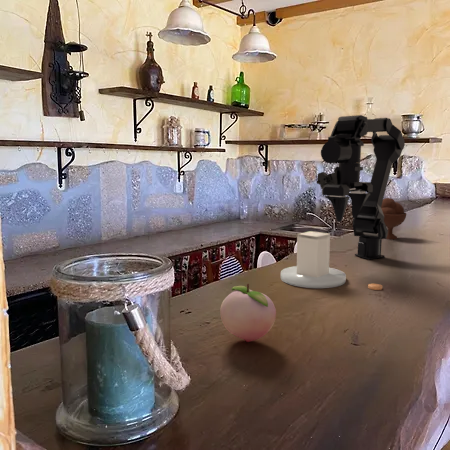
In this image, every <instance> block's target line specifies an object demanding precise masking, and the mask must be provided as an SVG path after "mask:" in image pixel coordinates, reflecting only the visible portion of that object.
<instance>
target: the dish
mask: <svg viewBox="0 0 450 450" xmlns="http://www.w3.org/2000/svg"><path fill="white" fill-rule="evenodd" d="M346 279H347V274H346V272H344V271H342V270H341V269H336V268H334V267H330V266H329V273H328V274H325V275H322V276H320V277H317V278H316V277H311V276H306V275H301V274H297V265H293V266H289V267H284V268H283V269H282V270H281V271H280V280H281V281H282V282H283V283H285V284H287V285H290V286H293V287H294V286H295V287H299V288H307V289H329V288H331V289H332V288H337V287H340V286H343V285H345V283H346V282H347V281H346Z"/></svg>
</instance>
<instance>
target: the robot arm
mask: <svg viewBox="0 0 450 450" xmlns="http://www.w3.org/2000/svg"><path fill="white" fill-rule="evenodd" d="M331 131H332V132H331V133H330V135H329V136H328V137H327V142H325V143H324V144H323V145H322V146H321V149H320V156H321V159H322V160H323V161H324V162H325V163H327V164H338V166H335V168H334V171H333V172H331V173H327V172H325V171H323V172H318V173H317V177H316V185H320V186H319V187H320V189H321V195H322V196H324V198H325V199H327V200H328V201H329V202H330V203H331V205H332V208H333V212H334V215H335V219H336V222H338V223H339V222H340V223H341V222H342V221H343V218H344V216H345V212H346V208H347V206H348V203H349V199H350V201H351V215H352V218H353V219H352V229H353V236H354V237H358V242H357V253H354V256H355V257H359V258H363V259H366V260H376V259H382V258H385V257H386V256H385V255H383V254H382V240H387V239H386V238H387V235H388V228H387V227H386V225H385V223H384V214H383V211H382V209H381V206H382V202H383V199H385V198H384V197H385V193H386V190H387V186H388V182H389V179H390V174H391V171H392V167H393V165H394V163H395V162H397V160H399V158H400V157H401V154H402V152H403V150H404V148H405V143H406V142H405V138H404V135H403V134H402V131H401V130H400V129H399V128H398V127H396V126H395V125H394V124H393V122H392V119H390V118H388V117H377V118H376V117H375V118H372V119H371V118H369V119H368V117H367V116H365V115H363V114H359V115H357V114H356V115H346V116H345V115H343V116H339V117H338V118H337V121H336V122H335V124H334V126H333V129H332V130H331ZM383 132H384V133H387V134H379V135H378V133H383ZM368 133H372V135H371V139H370V142H371V144H372V146H373V153H374V156H375V158H376V160H375V163H374V168H373V170H372V175H371V178H370V182H369V181H360V179H361V178H360V177H361V171H364V166H361V157H362V156H361V155H362V147H364V145H365V143H364V141H362V138H363V137H365V136H366V135H367V134H368Z"/></svg>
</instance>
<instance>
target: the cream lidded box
mask: <svg viewBox="0 0 450 450" xmlns="http://www.w3.org/2000/svg"><path fill="white" fill-rule="evenodd" d="M330 249H331V234H330V233H329V232H328V233H327V232H319V231H313V230H311V231H309V230H308V231H305V232H300V233H297V234H296V266H297V274H301V275H306V276H311V277H316V278H317V277H320V276H322V275H325V274H328V273H329V267H330V256H331V255H330V254H331V253H330V252H331V251H330Z"/></svg>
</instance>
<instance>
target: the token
mask: <svg viewBox="0 0 450 450" xmlns="http://www.w3.org/2000/svg"><path fill="white" fill-rule="evenodd" d="M367 288H368V289H369V290H373V291H381V290H383V285H382V284H380V283H379V284H378V283H368V285H367Z"/></svg>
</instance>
